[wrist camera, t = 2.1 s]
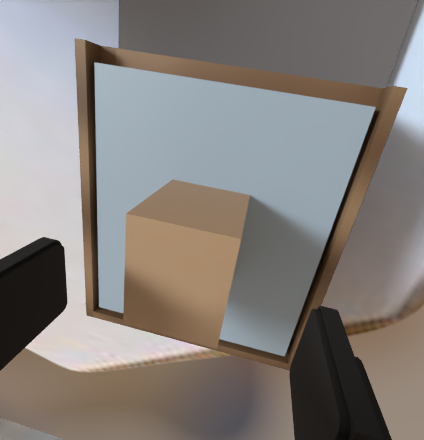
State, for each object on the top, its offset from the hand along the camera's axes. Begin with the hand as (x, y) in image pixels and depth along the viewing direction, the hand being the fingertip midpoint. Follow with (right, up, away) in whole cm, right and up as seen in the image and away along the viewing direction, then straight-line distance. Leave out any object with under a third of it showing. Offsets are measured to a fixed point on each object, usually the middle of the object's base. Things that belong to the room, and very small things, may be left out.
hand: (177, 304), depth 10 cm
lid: (+1, +3, +6) cm, 6 cm away
